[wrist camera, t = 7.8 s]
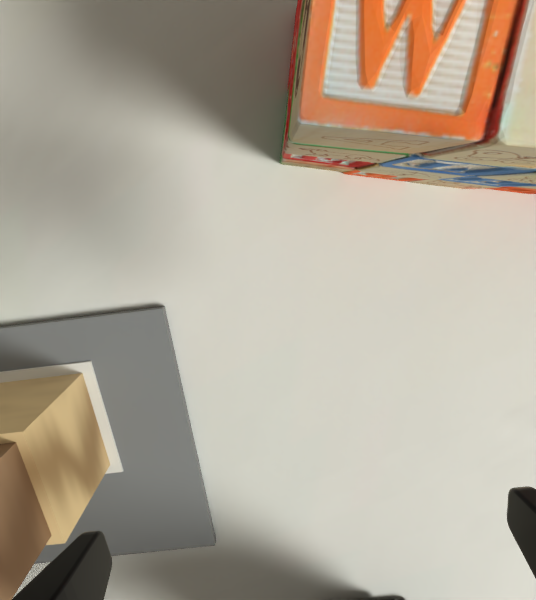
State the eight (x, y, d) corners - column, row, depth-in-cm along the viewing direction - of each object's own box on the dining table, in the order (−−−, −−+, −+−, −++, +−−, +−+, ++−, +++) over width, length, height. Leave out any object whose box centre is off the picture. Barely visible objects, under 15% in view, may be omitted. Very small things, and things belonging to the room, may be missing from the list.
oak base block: (110, 464, 22) (65, 543, 17) (11, 475, 22) (-62, 556, 17) (82, 373, 20) (23, 431, 15) (-25, 385, 20) (-117, 447, 15)
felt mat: (215, 539, 24) (214, 546, 23) (36, 557, 24) (31, 565, 24) (164, 306, 19) (161, 309, 19) (-56, 333, 20) (-64, 337, 19)
